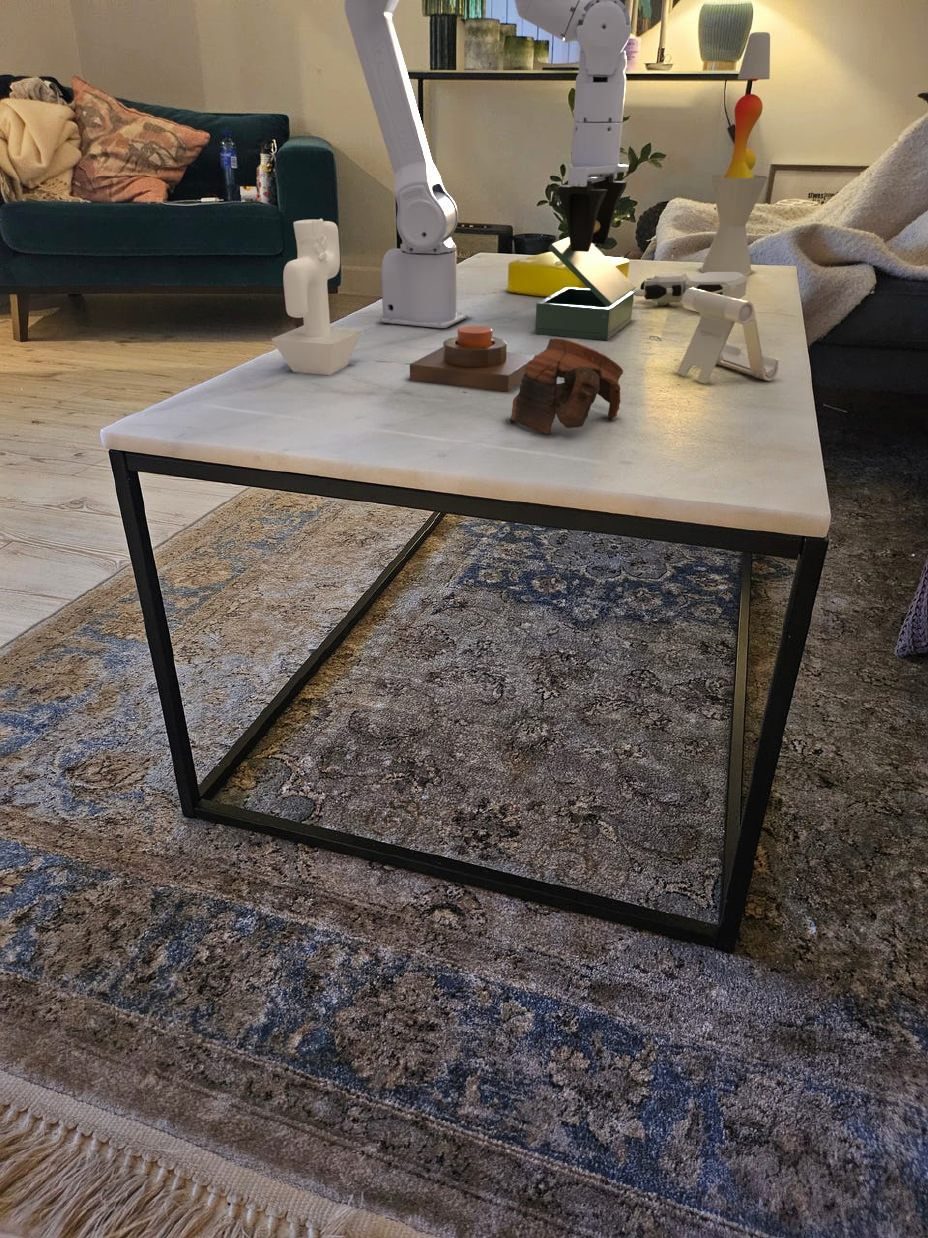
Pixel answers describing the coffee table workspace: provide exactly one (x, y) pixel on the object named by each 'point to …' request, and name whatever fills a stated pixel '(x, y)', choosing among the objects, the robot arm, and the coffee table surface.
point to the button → (474, 336)
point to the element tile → (548, 275)
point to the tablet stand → (724, 337)
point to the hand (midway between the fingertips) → (588, 246)
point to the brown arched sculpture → (565, 386)
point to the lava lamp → (740, 171)
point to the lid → (594, 270)
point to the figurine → (314, 303)
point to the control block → (472, 366)
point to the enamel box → (582, 315)
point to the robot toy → (692, 285)
